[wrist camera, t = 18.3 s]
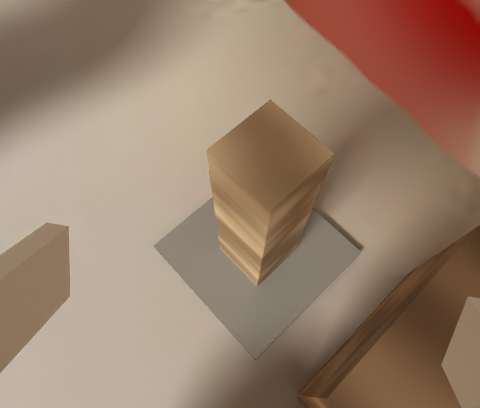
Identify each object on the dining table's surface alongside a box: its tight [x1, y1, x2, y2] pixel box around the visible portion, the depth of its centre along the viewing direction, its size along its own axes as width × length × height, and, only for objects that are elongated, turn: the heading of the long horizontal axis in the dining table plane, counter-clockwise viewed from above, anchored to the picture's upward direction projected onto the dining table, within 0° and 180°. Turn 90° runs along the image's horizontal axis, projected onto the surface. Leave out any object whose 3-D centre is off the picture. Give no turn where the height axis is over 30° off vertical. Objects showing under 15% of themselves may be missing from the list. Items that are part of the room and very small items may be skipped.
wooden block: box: [206, 100, 335, 286], centre depth 25 cm, size 4×4×14 cm
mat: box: [154, 197, 361, 360], centre depth 31 cm, size 11×11×1 cm
